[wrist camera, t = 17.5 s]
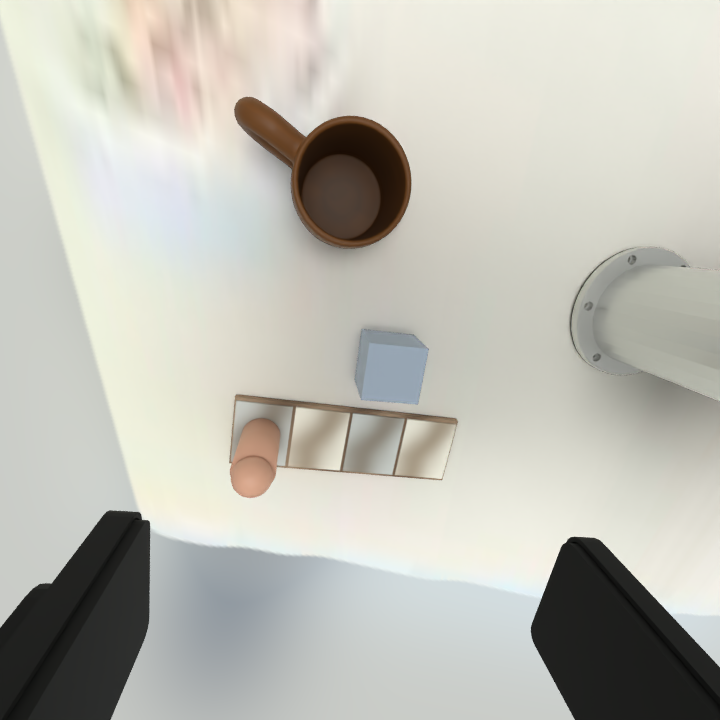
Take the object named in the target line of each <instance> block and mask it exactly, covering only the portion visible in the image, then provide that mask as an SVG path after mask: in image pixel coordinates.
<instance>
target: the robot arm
mask: <svg viewBox="0 0 720 720" xmlns="http://www.w3.org/2000/svg"><path fill="white" fill-rule="evenodd" d="M571 331H572V336H573V341H574V344H575V346H576V349H577V351H578V352H579V354H580V355H581V357H582V358H583V359H584V360H585V361H586V362H587V363H588V364H590V365H591V366H593V367H595V368H597V369H599V370H601V371H603V372H606V373H609V374H614V375H631V374H635V373H639V372H642V371H645V372H647V373H650V374H652V375H655V376H657V377H660V378H662V379H665V380H667V381H670V382H672V383H675V384H677V385H680V386H682V387H685V388H687V389H690V390H692V391H694V392H697V393H699V394H702V395H704V396H707V397H709V398H712V399H714V400H717V401H719V402H720V270H713V269H701V268H690V266H689V264H688V263H687V262H686V261H685V260H684V259H683V258H682V257H681V256H679V255H678V254H676V253H675V252H673V251H670V250H667V249H664V248H657V247H637V248H633V249H629V250H625V251H623V252H621V253H619V254H616V255H614V256H613V257H611V258H610V259H608V260H607V261H605V262H604V263H603V264H602V265H601V266H599V267H598V268H597V269H596V270H595V271H594V272H593V273H592V275H591V276H590V277H589V278H588V280H587V281H586V282H585V284H584V286H583V287H582V289H581V291H580V293H579V294H578V297H577V300H576V302H575V305H574V309H573V314H572V327H571ZM149 584H150V522H149V521H148V520H142V517H141V514H140V513H139V512H128V511H108V512H106V513H105V514H104V515H103V517H102V518H101V519H100V521H99V522H98V523H97V525H96V526H95V527H94V529H93V530H92V531H91V532H90V534H89V535H88V536H87V538H86V539H85V540H84V542H83V543H82V544H81V546H80V547H79V548H78V550H77V551H76V552H75V554H74V555H73V556H72V558H71V559H70V560H69V561H68V563H67V564H66V566H65V567H64V568H63V569H62V571H61V572H60V573H59V575H58V576H57V577H56V579H55V580H54V581H53V583H52V584H46V583H45V584H39V585H38V586H37V587H35V588H33V589H32V590H31V591H30V592H29V594H28V595H27V596H26V597H25V598H24V599H23V600H22V601H21V603H20V604H19V605H18V606H17V608H16V609H15V610H14V611H13V613H12V614H11V615H10V616H9V618H8V619H7V620H6V621H5V623H4V624H3V625H2V627H1V628H0V720H110V719H111V717H112V715H113V712H114V710H115V708H116V705H117V703H118V700H119V698H120V696H121V693H122V691H123V689H124V686H125V684H126V682H127V679H128V677H129V674H130V672H131V670H132V667H133V665H134V663H135V660H136V658H137V656H138V653H139V651H140V648H141V646H142V644H143V641H144V639H145V636H146V632H147V629H148V624H149ZM531 635H532V639H533V642H534V644H535V647H536V648H537V650H538V652H539V654H540V656H541V658H542V660H543V661H544V663H545V665H546V667H547V669H548V670H549V672H550V674H551V676H552V678H553V680H554V682H555V683H556V685H557V687H558V689H559V691H560V693H561V695H562V696H563V698H564V700H565V702H566V704H567V706H568V708H569V710H570V711H571V713H572V715H573V717H574V719H575V720H720V667H719V666H718V665H717V664H716V663H715V662H714V661H713V660H712V659H711V658H710V656H709V655H708V654H707V653H706V652H705V651H704V650H703V649H702V648H701V647H700V646H699V645H698V644H697V643H696V642H695V640H694V639H693V638H692V637H691V636H690V635H689V634H688V633H687V632H686V631H685V630H684V629H683V628H682V627H681V626H680V625H679V623H677V621H676V620H675V619H674V618H673V617H672V616H671V615H670V614H669V613H668V612H667V611H666V610H665V609H664V608H663V606H662V605H661V604H660V603H659V602H658V601H657V600H656V599H655V598H654V597H653V596H652V595H651V594H650V593H649V592H648V591H647V589H646V588H645V587H644V586H643V585H642V584H641V583H640V582H639V581H638V580H637V579H636V578H635V577H634V576H633V575H632V574H631V572H630V571H629V570H628V569H627V568H626V567H625V566H624V565H623V564H622V563H621V562H620V561H619V560H618V559H617V558H616V557H615V555H614V554H613V553H612V552H611V551H610V550H609V549H608V548H607V547H606V546H605V545H604V544H603V543H602V542H601V541H600V540H598V539H596V538H586V537H571V538H569V539H568V540H567V542H566V543H565V544H563V545H562V547H561V549H560V552H559V554H558V557H557V560H556V562H555V565H554V568H553V570H552V573H551V575H550V578H549V581H548V583H547V586H546V588H545V591H544V594H543V596H542V599H541V602H540V604H539V607H538V609H537V612H536V615H535V617H534V620H533V622H532V626H531Z"/></svg>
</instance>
